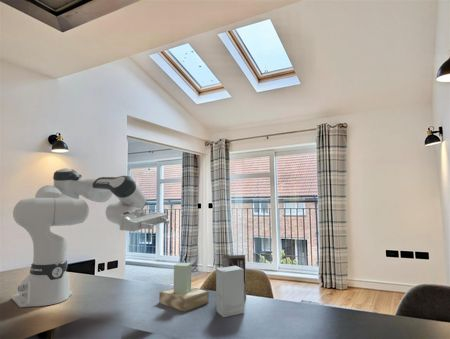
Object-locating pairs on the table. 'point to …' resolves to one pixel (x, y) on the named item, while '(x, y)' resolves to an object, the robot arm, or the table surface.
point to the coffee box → (236, 261)
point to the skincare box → (230, 291)
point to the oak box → (184, 299)
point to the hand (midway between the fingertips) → (160, 224)
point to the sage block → (182, 278)
